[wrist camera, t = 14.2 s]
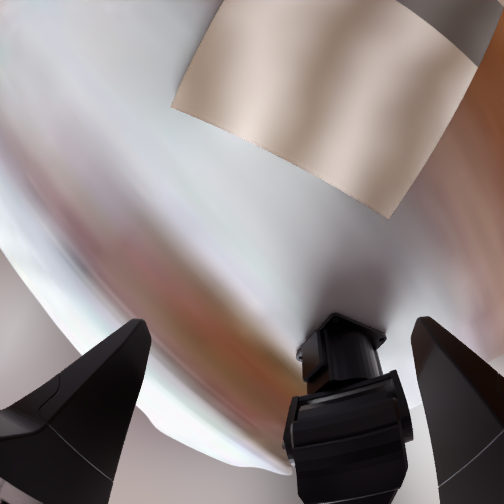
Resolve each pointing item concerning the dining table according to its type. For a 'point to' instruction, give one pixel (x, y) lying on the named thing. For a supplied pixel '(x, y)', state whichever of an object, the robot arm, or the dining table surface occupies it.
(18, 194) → the dining table surface
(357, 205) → the dining table surface
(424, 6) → the cream and grey cloth
